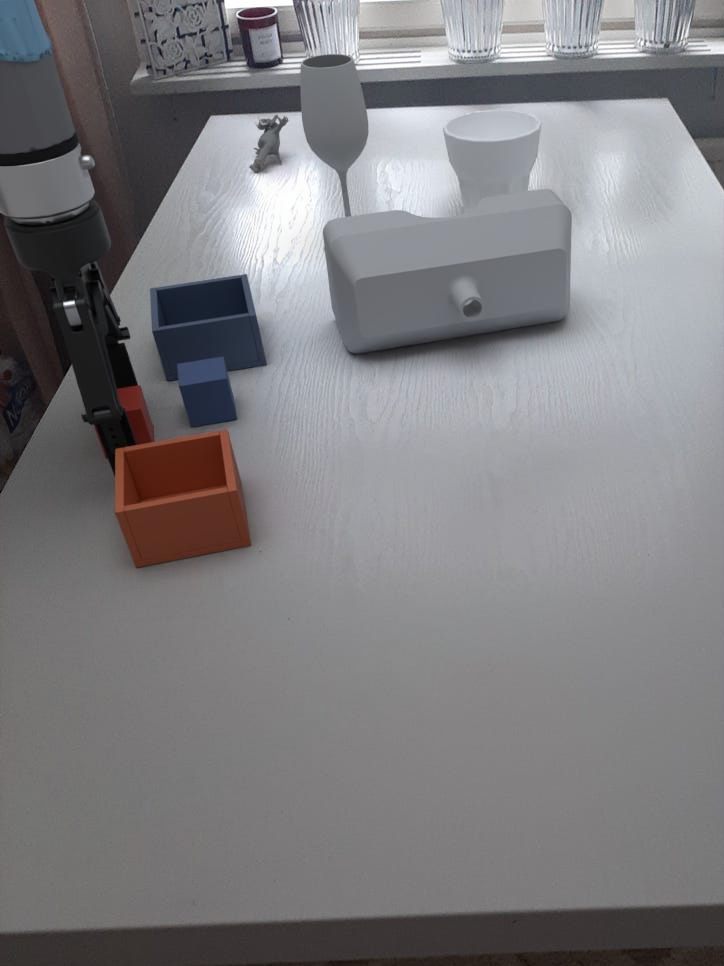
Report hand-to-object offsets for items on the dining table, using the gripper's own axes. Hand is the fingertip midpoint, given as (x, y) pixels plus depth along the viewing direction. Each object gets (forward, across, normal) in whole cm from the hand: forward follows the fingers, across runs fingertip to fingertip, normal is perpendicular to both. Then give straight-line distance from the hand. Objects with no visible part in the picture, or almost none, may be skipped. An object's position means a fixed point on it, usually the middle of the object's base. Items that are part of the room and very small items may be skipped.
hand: (130, 440), depth 92 cm
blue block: (0, +3, -8) cm, 8 cm away
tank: (+1, +11, -35) cm, 37 cm away
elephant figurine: (0, +74, -22) cm, 77 cm away
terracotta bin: (0, -15, -5) cm, 16 cm away
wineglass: (0, +38, -28) cm, 47 cm away
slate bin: (0, +16, -9) cm, 18 cm away
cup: (+1, +42, -48) cm, 64 cm away
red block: (0, 0, 0) cm, 0 cm away
